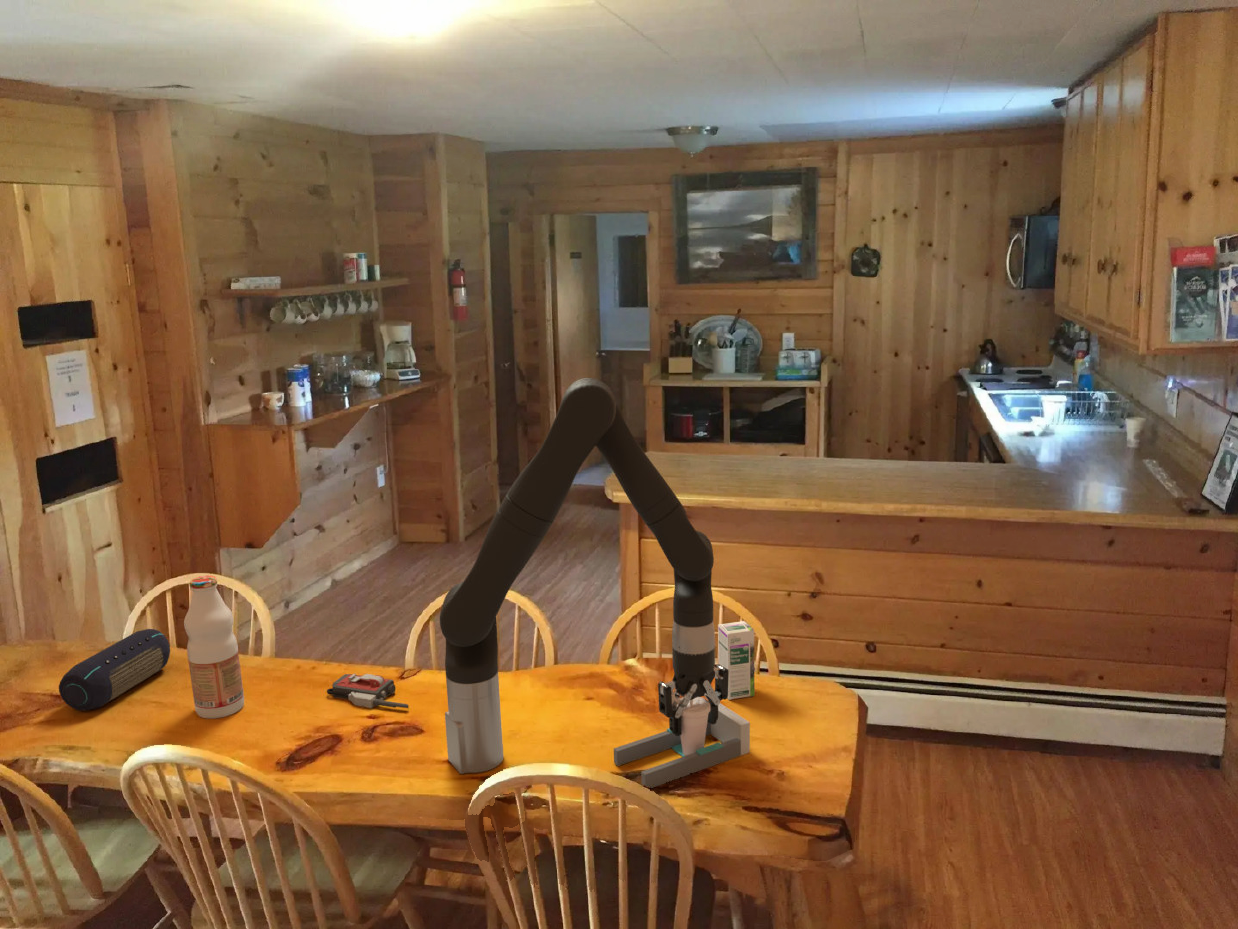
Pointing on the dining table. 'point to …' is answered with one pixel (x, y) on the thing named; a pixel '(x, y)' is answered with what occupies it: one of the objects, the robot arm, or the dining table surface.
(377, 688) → the walkie-talkie
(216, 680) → the fruit juice
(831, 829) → the dining table surface
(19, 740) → the dining table surface
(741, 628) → the syrup box
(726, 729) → the guide channel
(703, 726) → the smoothie
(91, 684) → the portable speaker
